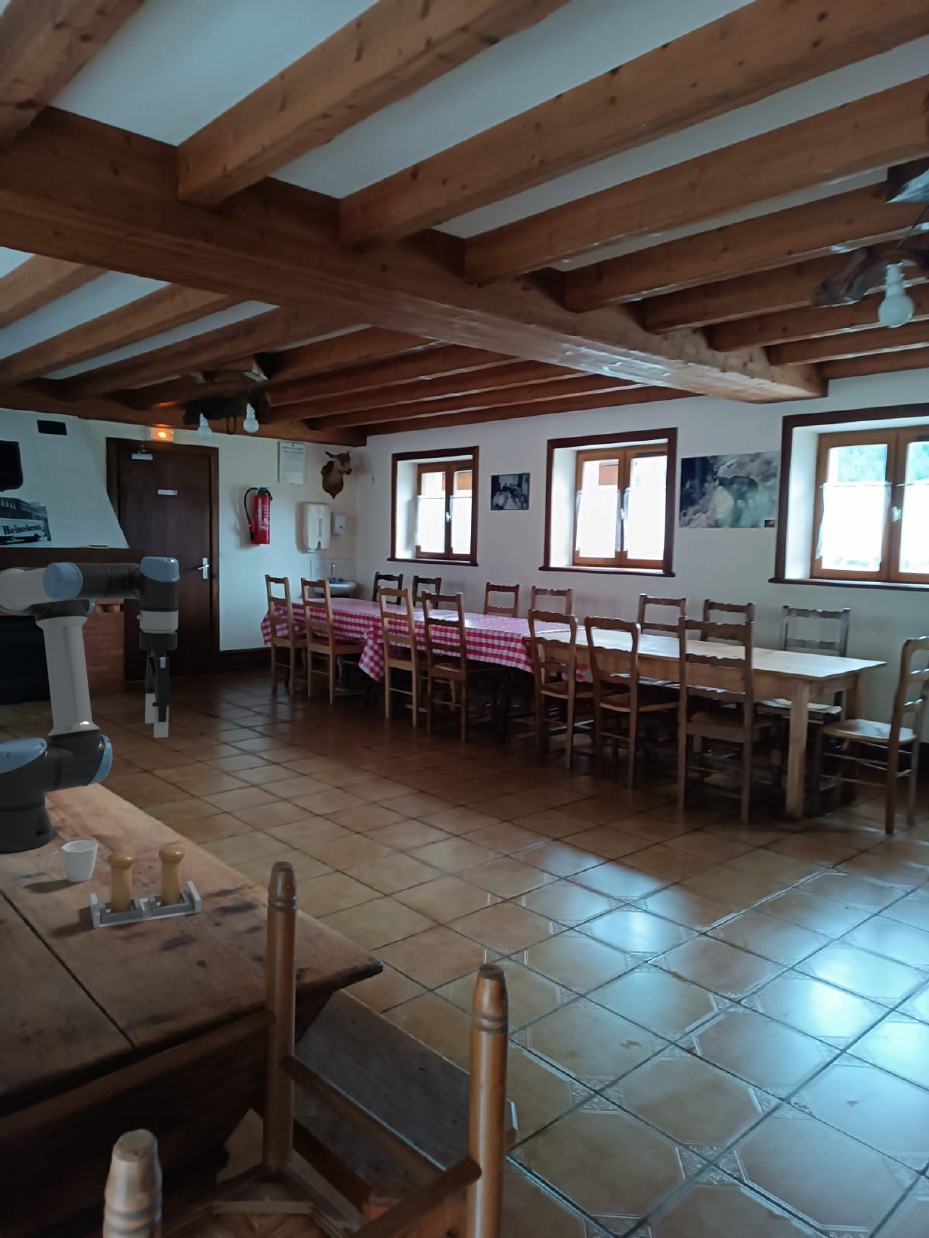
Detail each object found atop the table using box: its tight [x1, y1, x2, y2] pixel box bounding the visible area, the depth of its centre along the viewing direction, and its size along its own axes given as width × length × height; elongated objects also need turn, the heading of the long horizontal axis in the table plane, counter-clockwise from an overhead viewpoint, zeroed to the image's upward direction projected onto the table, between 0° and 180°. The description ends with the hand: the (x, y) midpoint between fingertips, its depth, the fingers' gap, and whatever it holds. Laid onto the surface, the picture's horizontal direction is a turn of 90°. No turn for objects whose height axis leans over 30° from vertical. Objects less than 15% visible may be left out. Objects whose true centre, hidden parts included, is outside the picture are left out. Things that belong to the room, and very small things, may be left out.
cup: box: [44, 839, 99, 883], centre depth 176 cm, size 7×10×8 cm
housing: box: [89, 880, 202, 929], centre depth 164 cm, size 10×19×4 cm, turn 118°
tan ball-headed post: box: [158, 846, 186, 907], centre depth 166 cm, size 5×5×11 cm
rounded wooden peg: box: [107, 851, 136, 914], centre depth 162 cm, size 5×5×11 cm
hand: (156, 729), depth 181 cm, fingers open, 13 cm apart
